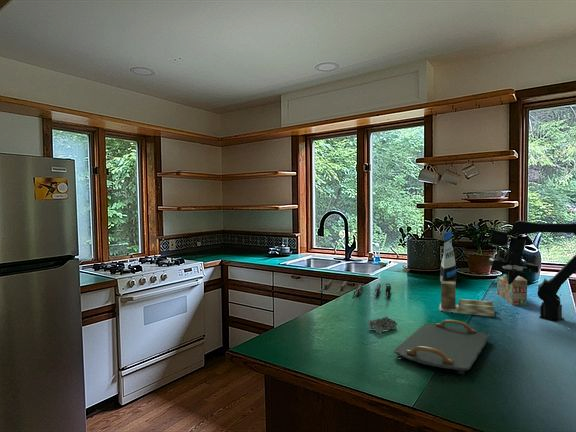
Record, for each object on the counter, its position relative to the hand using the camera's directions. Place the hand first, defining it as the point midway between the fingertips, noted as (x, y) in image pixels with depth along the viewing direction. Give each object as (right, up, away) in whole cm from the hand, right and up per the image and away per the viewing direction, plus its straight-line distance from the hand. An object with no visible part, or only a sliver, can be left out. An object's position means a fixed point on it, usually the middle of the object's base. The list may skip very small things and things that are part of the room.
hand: (509, 284), depth 163 cm
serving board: (-44, -16, -37) cm, 59 cm away
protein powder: (+2, -10, +66) cm, 67 cm away
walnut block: (-23, -12, +8) cm, 27 cm away
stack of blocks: (+14, -12, +22) cm, 28 cm away
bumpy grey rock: (-59, -15, -16) cm, 63 cm away
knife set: (-61, -13, +35) cm, 71 cm away
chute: (-16, -13, +5) cm, 21 cm away
